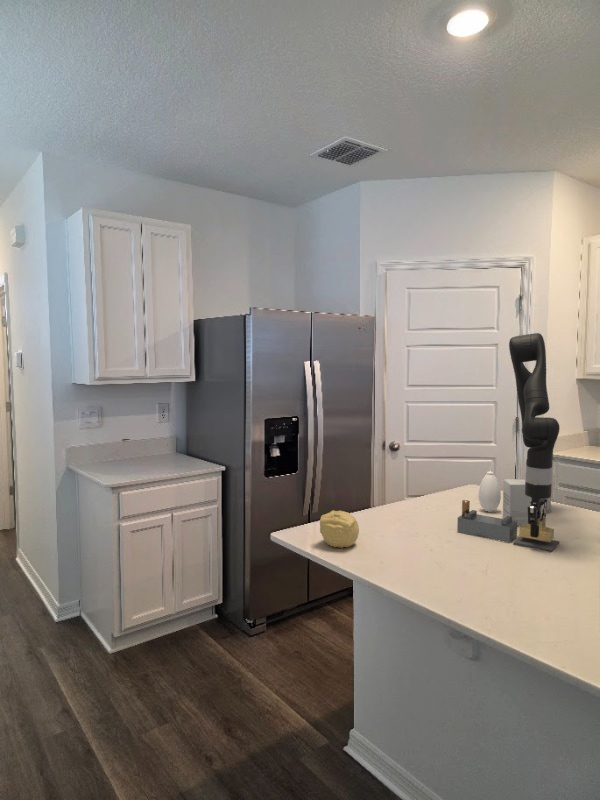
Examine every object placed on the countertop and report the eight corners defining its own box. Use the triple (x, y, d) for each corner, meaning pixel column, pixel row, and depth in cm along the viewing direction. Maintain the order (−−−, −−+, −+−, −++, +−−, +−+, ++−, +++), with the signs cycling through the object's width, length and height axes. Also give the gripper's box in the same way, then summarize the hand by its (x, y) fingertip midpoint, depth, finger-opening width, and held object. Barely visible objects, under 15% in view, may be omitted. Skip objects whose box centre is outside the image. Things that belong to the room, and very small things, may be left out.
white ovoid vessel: (474, 509, 205) (475, 463, 204) (491, 508, 208) (492, 462, 206) (487, 515, 198) (488, 467, 197) (504, 513, 200) (505, 466, 199)
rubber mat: (522, 536, 173) (522, 534, 173) (559, 543, 166) (559, 541, 166) (513, 544, 165) (513, 542, 165) (551, 552, 159) (551, 549, 159)
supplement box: (527, 519, 192) (528, 479, 191) (535, 527, 184) (537, 484, 182) (501, 518, 193) (502, 478, 192) (508, 526, 184) (510, 483, 183)
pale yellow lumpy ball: (315, 547, 162) (315, 513, 161) (330, 536, 173) (330, 503, 172) (350, 553, 157) (350, 518, 156) (363, 541, 168) (364, 508, 167)
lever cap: (523, 532, 171) (524, 514, 170) (553, 538, 165) (554, 519, 165) (519, 536, 167) (519, 517, 166) (550, 542, 161) (550, 523, 161)
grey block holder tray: (466, 526, 184) (466, 498, 183) (516, 536, 173) (517, 506, 173) (457, 532, 178) (458, 502, 177) (509, 542, 167) (510, 511, 166)
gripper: (532, 475, 173) (530, 526, 174) (519, 483, 161) (517, 538, 162) (556, 478, 168) (555, 531, 169) (545, 487, 157) (543, 543, 158)
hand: (536, 534), depth 166 cm, fingers closed on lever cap, 5 cm apart
